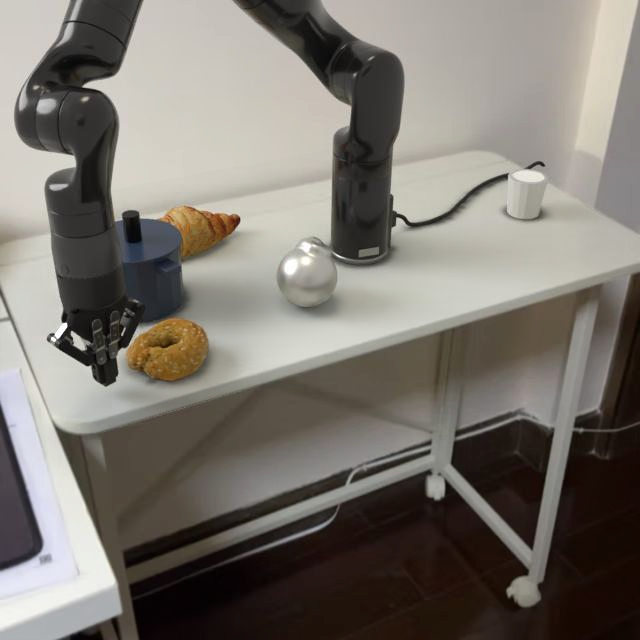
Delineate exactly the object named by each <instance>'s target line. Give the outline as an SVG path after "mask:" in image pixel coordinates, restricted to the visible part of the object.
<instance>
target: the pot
mask: <svg viewBox="0 0 640 640" xmlns="http://www.w3.org/2000/svg"><path fill="white" fill-rule="evenodd" d="M182 266H183V265H182V259H181V252H180V247H179V249H178V250H177V251H176V252H174V253H173V254H171V255H170V256H168V257H166V258H164V259H161V260H158V261H155V262H152V263H147V264H141V265H129V266H123V270H124V278H125V286H126V291H125V293H126V294H127V295H128V298H130V297H132V298H134V299H136V300H137V301H139V302H141V303H142V304H144V305H145V306H146V309H145V312H144V314H143V316H142V318H141V320H140V322H139V324H140V323H147V322H152V321H157V320H159V319H163V318H166V317H167V316H169V315H171V314H173V313H175V311H177V310H178V309H179V308H180V307H181V305H182V303H184V302H183V301H184V295H185V290H184V277H183V267H182Z"/></svg>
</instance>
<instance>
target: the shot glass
mask: <svg viewBox="0 0 640 640" xmlns="http://www.w3.org/2000/svg"><path fill="white" fill-rule="evenodd" d="M508 173H509V175H508V177H507V196H506V197H507V198H506V199H507V200H506V213H507V214H508V215H509V216H511V217H513V218H515V219H520V220H532V219H536V218H537V217H539V215H540V211H541V207H542V203H543V200H544V196H545V192H546V188H547V185H548V181H549V176H548V175H547V174H546V173H544V172H542V171H540V170H536V169H532V168H531V169H524V168H519V169H513V170H511V171H509V172H508Z"/></svg>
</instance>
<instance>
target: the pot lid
mask: <svg viewBox="0 0 640 640" xmlns="http://www.w3.org/2000/svg"><path fill="white" fill-rule="evenodd" d="M115 224H116V228H117V231H118V235H119V240H120V246H121V255H122V262H123V266H129V265H141V264H147V263H152V262H155V261H158V260H161V259H164V258H166V257H168V256H170V255H171V254H173V253H174V252H176V251H177V250H178V249H179V247H180V246H181V243H182V234H181V232H180V231H179V229H178V228H176V227H175V226H173V225H172V224H170V223H167V222H164V221H160V220H156V219H155V218H141V215H140V211H138V210H135V209H127V210H125V211H122V213H121V219H119V220H115Z"/></svg>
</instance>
